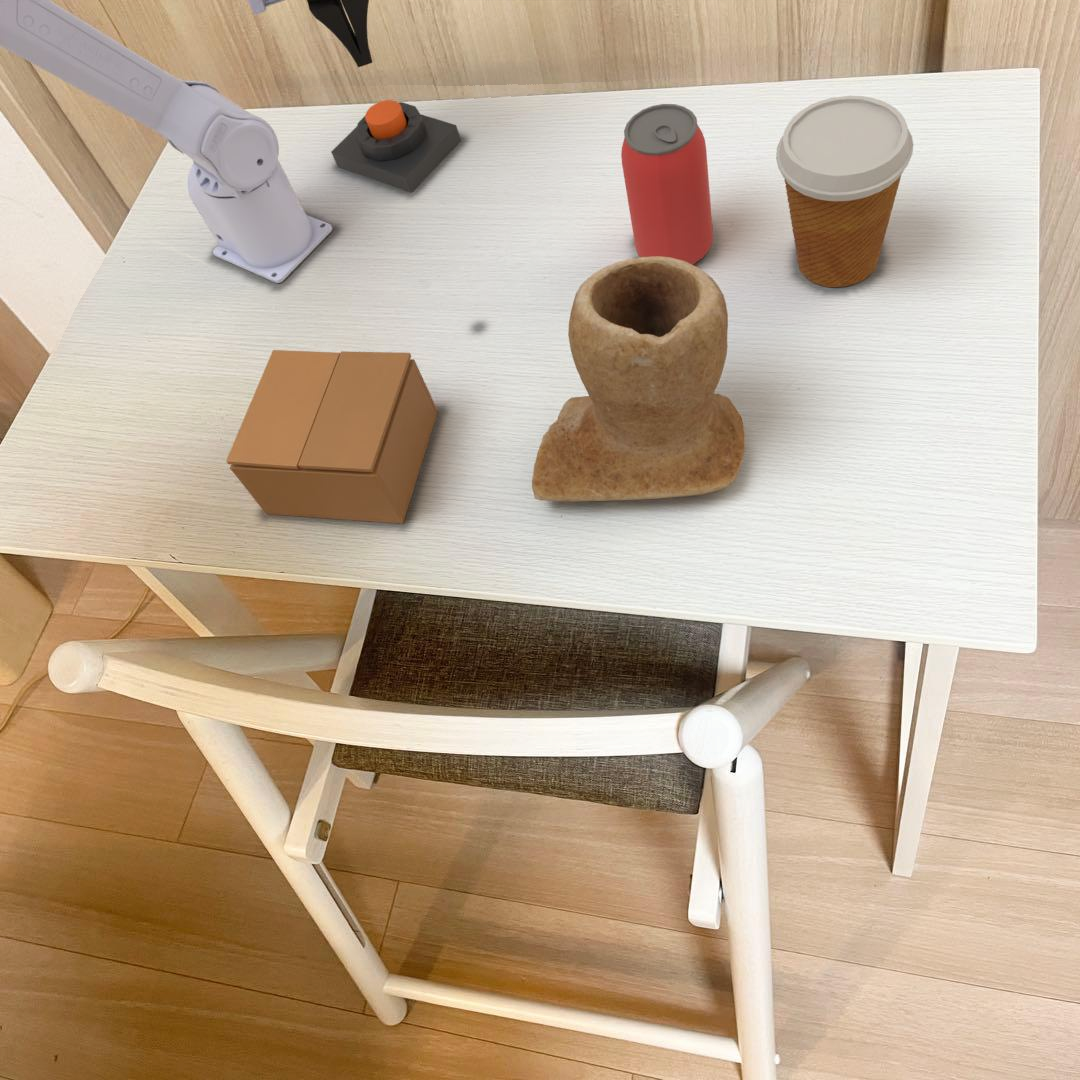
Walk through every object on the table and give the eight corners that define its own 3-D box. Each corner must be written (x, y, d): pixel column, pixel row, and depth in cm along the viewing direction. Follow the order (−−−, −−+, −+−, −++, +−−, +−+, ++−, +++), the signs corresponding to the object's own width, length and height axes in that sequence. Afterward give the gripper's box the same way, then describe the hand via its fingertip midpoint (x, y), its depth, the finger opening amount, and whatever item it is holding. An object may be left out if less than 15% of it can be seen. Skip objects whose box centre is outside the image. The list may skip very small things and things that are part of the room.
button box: (337, 167, 103) (324, 138, 100) (387, 118, 106) (376, 87, 103) (411, 193, 98) (400, 163, 96) (461, 141, 101) (451, 110, 98)
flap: (228, 464, 76) (225, 461, 76) (274, 352, 81) (272, 349, 81) (298, 469, 74) (296, 466, 74) (341, 355, 80) (339, 352, 79)
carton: (265, 514, 82) (224, 461, 76) (307, 406, 87) (272, 349, 81) (403, 523, 78) (371, 470, 72) (438, 411, 83) (411, 352, 77)
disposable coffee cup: (763, 294, 83) (760, 173, 73) (794, 212, 87) (795, 87, 77) (884, 311, 80) (898, 186, 70) (911, 224, 84) (928, 95, 74)
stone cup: (745, 379, 79) (737, 229, 66) (745, 510, 73) (737, 372, 60) (552, 389, 82) (510, 248, 70) (537, 515, 76) (488, 385, 64)
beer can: (661, 286, 86) (644, 168, 76) (622, 242, 89) (601, 125, 79) (728, 249, 86) (721, 128, 76) (687, 208, 90) (674, 86, 80)
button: (363, 134, 100) (357, 119, 98) (386, 111, 101) (381, 96, 99) (391, 143, 98) (385, 128, 97) (414, 120, 99) (408, 104, 98)
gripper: (222, -41, 80) (292, 109, 92) (398, -102, 79) (447, 57, 91) (217, -84, 84) (285, 65, 95) (385, -142, 83) (434, 15, 95)
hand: (363, 59), depth 93 cm, fingers closed
